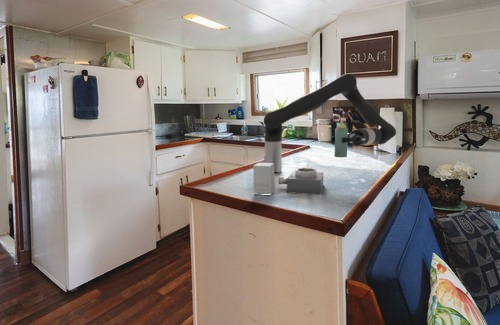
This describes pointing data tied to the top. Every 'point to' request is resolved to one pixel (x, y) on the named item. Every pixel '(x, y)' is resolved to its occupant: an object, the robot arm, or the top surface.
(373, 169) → the top surface
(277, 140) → the robot arm
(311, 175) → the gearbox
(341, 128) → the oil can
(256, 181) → the supplement box
